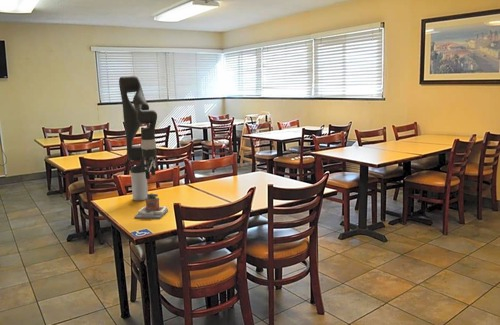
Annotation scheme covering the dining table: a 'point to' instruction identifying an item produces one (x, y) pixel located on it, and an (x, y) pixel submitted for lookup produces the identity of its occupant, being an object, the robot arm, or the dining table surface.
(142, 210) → the grey flat square tray
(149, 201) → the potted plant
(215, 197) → the dining table surface
